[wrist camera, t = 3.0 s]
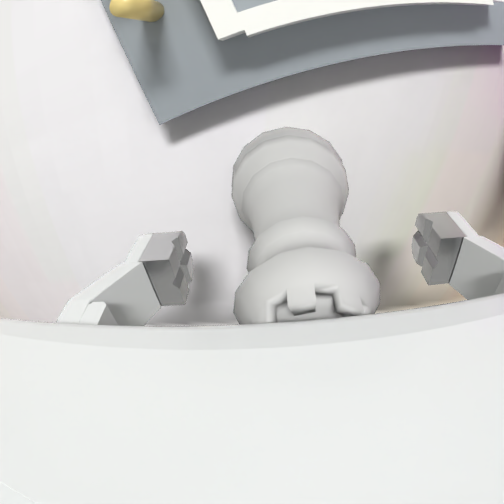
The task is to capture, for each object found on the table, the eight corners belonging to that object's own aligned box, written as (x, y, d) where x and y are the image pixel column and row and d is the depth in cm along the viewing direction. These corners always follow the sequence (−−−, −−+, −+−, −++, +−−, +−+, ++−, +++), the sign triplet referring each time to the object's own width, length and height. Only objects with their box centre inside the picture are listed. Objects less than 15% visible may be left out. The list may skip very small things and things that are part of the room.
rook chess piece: (283, 100, 10) (320, 198, 4) (363, 174, 12) (451, 326, 6) (210, 183, 13) (158, 347, 6) (290, 241, 14) (306, 408, 8)
